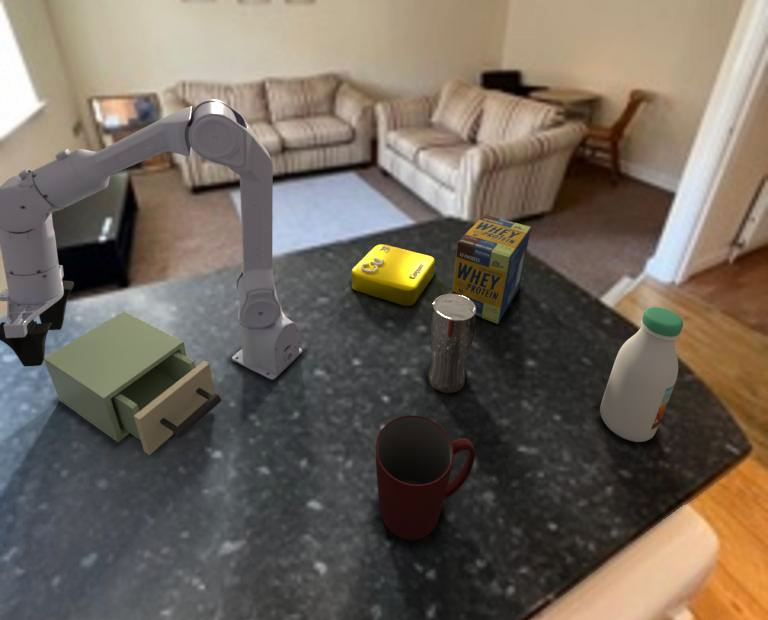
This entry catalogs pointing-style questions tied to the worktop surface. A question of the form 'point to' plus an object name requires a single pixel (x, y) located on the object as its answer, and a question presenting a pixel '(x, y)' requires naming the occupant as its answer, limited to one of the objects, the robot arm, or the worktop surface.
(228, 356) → the worktop surface
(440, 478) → the mug
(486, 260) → the protein box
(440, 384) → the beer glass
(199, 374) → the drawer
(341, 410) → the worktop surface
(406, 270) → the element tile
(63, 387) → the cabinet
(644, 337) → the milk bottle
